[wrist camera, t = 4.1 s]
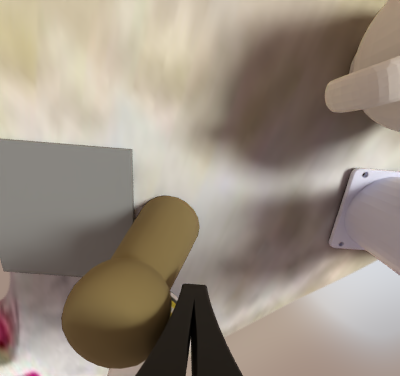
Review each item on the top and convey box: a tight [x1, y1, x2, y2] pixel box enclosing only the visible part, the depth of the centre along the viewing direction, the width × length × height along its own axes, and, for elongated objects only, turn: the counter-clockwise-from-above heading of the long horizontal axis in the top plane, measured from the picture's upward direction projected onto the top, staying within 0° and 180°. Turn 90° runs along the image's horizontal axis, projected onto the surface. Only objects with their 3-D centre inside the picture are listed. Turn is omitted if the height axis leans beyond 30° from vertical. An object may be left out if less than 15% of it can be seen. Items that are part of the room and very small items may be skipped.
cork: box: [61, 196, 199, 369], centre depth 13 cm, size 6×6×11 cm
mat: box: [0, 139, 134, 277], centre depth 19 cm, size 14×14×1 cm
